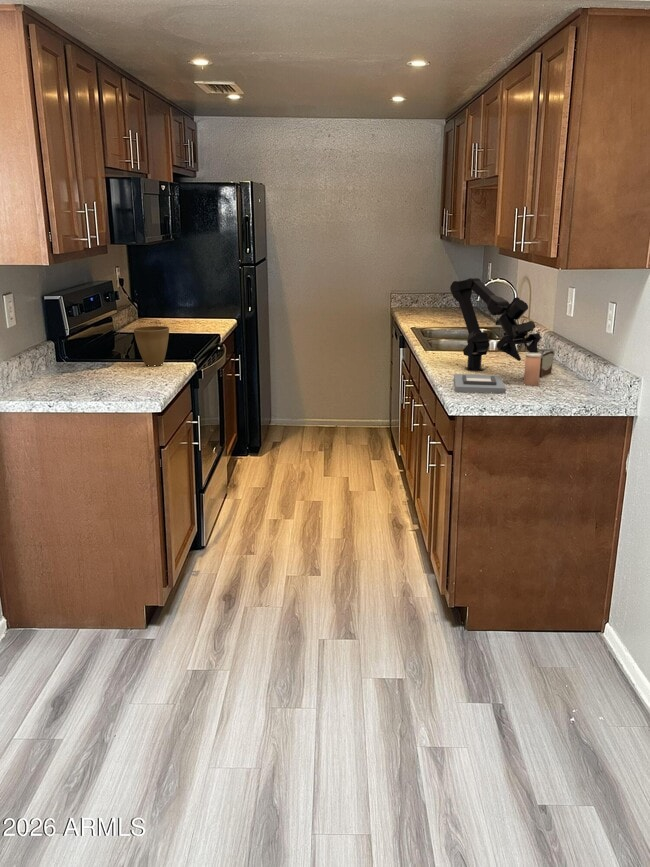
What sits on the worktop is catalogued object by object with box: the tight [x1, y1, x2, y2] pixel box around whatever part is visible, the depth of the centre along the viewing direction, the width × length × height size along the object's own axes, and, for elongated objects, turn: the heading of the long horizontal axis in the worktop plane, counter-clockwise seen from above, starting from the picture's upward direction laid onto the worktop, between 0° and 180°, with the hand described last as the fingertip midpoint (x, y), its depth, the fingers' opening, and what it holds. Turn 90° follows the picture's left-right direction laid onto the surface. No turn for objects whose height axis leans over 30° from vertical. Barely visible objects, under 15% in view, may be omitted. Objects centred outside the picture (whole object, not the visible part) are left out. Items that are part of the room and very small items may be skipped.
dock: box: [453, 373, 507, 394], centre depth 284 cm, size 24×18×3 cm
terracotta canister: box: [523, 351, 541, 387], centre depth 286 cm, size 6×6×12 cm
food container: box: [537, 348, 555, 378], centre depth 304 cm, size 12×6×10 cm, turn 141°
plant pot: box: [133, 325, 170, 367], centre depth 319 cm, size 15×15×16 cm
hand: (528, 359), depth 287 cm, fingers open, 9 cm apart
